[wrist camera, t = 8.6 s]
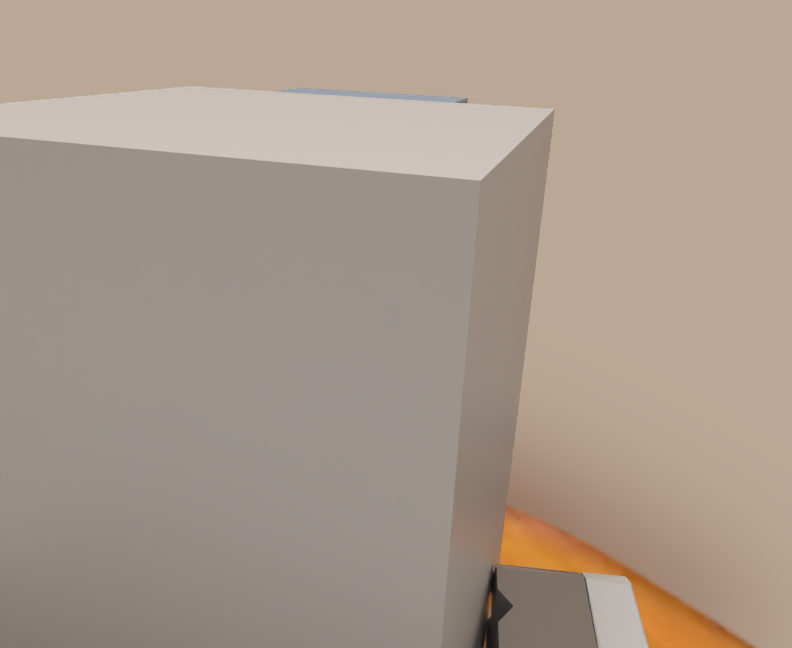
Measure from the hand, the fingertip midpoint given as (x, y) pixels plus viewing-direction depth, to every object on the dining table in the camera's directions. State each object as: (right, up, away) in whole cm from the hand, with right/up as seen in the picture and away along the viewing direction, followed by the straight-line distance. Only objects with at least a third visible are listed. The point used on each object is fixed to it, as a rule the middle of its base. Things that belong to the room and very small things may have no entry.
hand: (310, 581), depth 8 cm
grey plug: (0, -5, +1) cm, 5 cm away
